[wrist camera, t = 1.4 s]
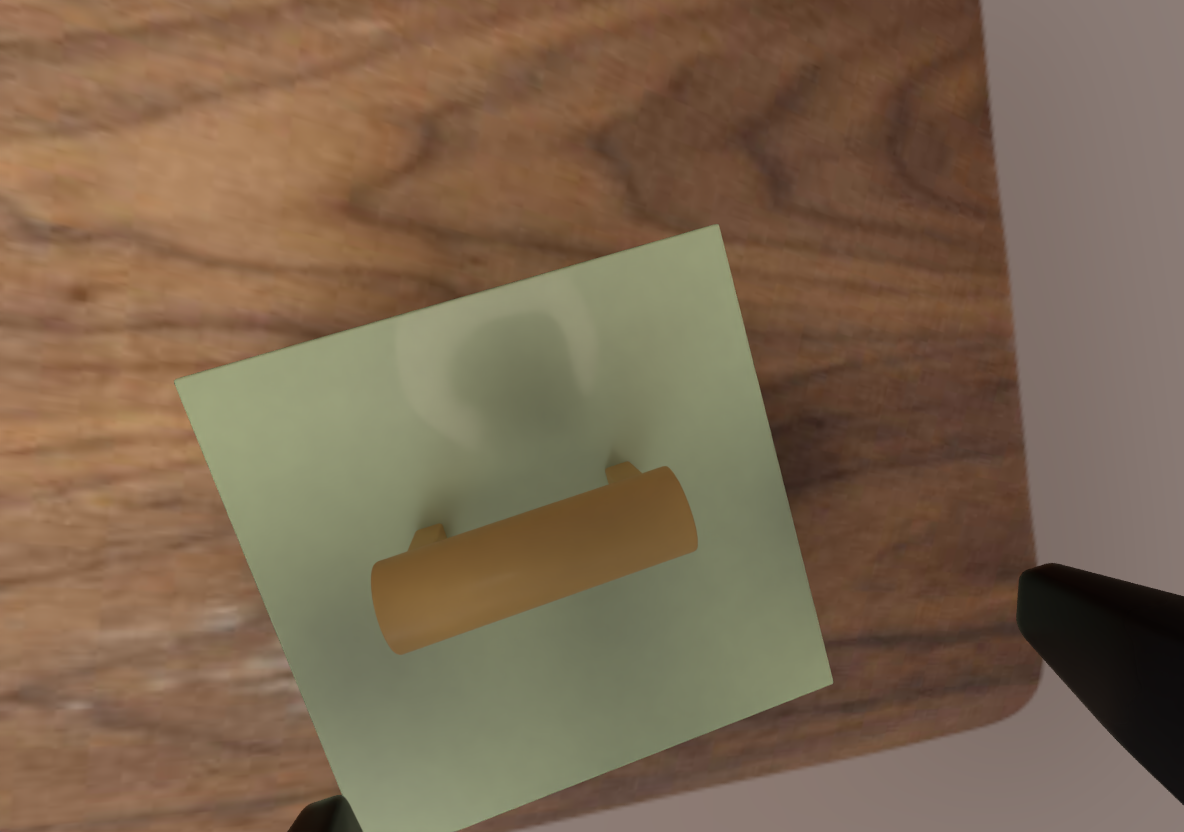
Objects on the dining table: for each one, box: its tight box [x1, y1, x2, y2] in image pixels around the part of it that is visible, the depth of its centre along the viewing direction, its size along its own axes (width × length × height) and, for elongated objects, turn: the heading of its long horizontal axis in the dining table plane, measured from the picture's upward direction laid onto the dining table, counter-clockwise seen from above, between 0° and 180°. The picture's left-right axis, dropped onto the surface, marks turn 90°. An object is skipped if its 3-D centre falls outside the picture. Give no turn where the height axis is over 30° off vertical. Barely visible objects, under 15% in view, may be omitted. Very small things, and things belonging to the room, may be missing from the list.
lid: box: [174, 224, 833, 832], centre depth 14 cm, size 13×14×5 cm
